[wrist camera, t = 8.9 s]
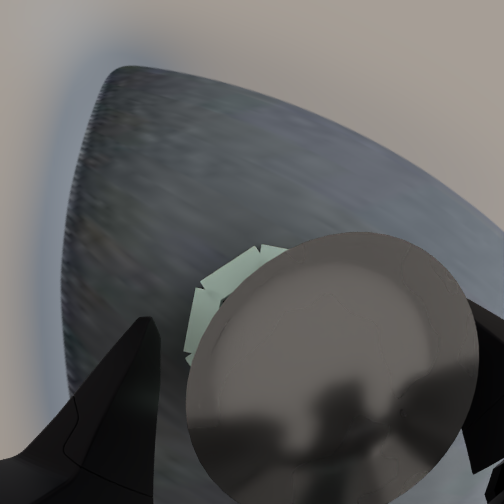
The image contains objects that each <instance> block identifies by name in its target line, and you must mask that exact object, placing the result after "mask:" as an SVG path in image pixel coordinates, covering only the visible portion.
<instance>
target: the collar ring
mask: <svg viewBox="0 0 504 504" xmlns="http://www.w3.org/2000/svg"><path fill="white" fill-rule="evenodd" d="M286 250H289V249H284V248H279V247H273V246H268V245H263V244H262V245H261V249H260V252H259V251H258V250H257V248H256V247H255V246H253V247H252V248H250V249H249V250H247V251H246V252H244V253H243V254H241V255H240V256H238V257H237V258H235V259H234V260H232V261H231V262H229V263H227V264H226V265H224V266H223V267H221V268H220V269H218V270H217V271H215V272H214V273H212V274H211V275H209V276H208V277H206V278H205V279H203V280H202V281H200V282H201V284H202V285H203V287H204V289H200V288H196V290H195V294H194V299H193V304H192V309H191V314H190V319H189V324H188V329H187V334H186V340H185V345H184V352H188V353H192V354H190V355H189V356H187V357H186V358H185V359H186V361H187V362H188V363H189V365H190V366H191V364H192V360H193V358H194V355H195V352H196V350H197V347H198V345H199V342H200V340H201V338H202V336H203V334H204V332H205V330H206V329H207V327H208V325H209V323H210V321H211V320H212V318H213V316H214V315H215V314H216V312H217V311H218V310H219V308H220V307H221V306H222V302H223V301H224V300H225V299H227V298H228V296H229V295H230V294H231V293H232V292H233V291H234V290H235V289H236V288H237V287H238V286H239V285H240V284H241V283H242V282H243V281H244V280H245V279H246V278H247V277H249V276H250V275H251V274H252V273H254V272H255V271H256V270H257V269H259V268H260V267H261V266H262V265H264V264H265V263H266V262H268V261H270V260H271V259H273V258H275V257H276V256H278V255H280V254H281V253H283V252H284V251H286Z"/></svg>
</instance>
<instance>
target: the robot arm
mask: <svg viewBox="0 0 504 504" xmlns="http://www.w3.org/2000/svg"><path fill="white" fill-rule="evenodd" d="M466 299H467V298H466ZM467 301H468V303H469V306H470V308H471V311H472V314H473V317H474V321H475V325H476V330H477V336H478V344H479V367H478V377H477V383H476V388H475V393H474V396H473V400H472V403H471V406H470V409H469V412H468V414H467V417H466V419H465V421H464V424H463V426H462V428H461V429H462V433H463V436H464V440H465V444H466V448H467V452H468V456H469V460H470V465H471V469H472V473H473V474H476V473H478V472H480V471H481V470H483V469H485V468H487V467H489V466H491V465H492V464H494V463H496V462H498V461H499V460H501V459H503V458H504V320H503V319H501V318H500V317H498V316H496V315H495V314H493V313H491V312H490V311H488V310H486V309H485V308H483V307H481V306H479V305H478V304H476V303H474V302H473V301H471V300H469V299H467ZM160 351H161V338H160V334H159V332H158V329H157V327H156V324H155V322H154V320H153V318H152V317H139V318H138V319H137V320H136V321H135V322H134V323H133V324H132V326H131V327H130V328H129V329H128V330H127V331H126V332H125V334H124V335H123V336H122V337H121V338H120V339H119V341H118V342H117V343H116V344H115V345H114V346H113V348H112V349H111V350H110V351H109V352H108V353H107V355H106V356H105V357H104V358H103V359H102V361H101V362H100V363H99V364H98V365H97V367H96V368H95V369H94V370H93V371H92V373H91V374H90V375H89V376H88V377H87V379H86V380H85V381H84V382H83V384H82V385H81V386H80V387H79V388H78V390H77V391H76V392H75V393H74V396H72V397H71V398H70V400H69V401H68V402H67V403H66V405H65V406H64V407H63V408H62V410H61V411H60V412H59V413H58V414H57V415H56V417H55V418H54V419H53V420H52V421H51V422H50V423H49V424H48V425H47V426H46V427H45V429H44V430H43V431H42V432H41V433H40V434H39V435H38V436H37V437H36V438H35V439H34V440H33V441H32V442H31V443H30V444H29V445H28V447H27V448H26V449H25V450H23V451H22V452H21V453H20V454H18V455H16V456H14V457H11V458H8V459H3V460H0V504H153V476H154V453H155V437H156V423H157V412H158V401H159V392H160ZM485 497H486V501H487V504H504V460H503V461H502V462H501V463H500V464H498V465H497V466H496V467H495V468H494V469H493V471H492V474H491V477H490V481H489V483H488V486H487V489H486V492H485Z"/></svg>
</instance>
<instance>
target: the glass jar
mask: <svg viewBox="0 0 504 504" xmlns="http://www.w3.org/2000/svg"><path fill="white" fill-rule="evenodd" d="M478 367H479V344H478V336H477V330H476V325H475V321H474V317H473V314H472V311H471V308H470V306H469V303H468V301H467V299H466V296H465V295H464V293H463V291H462V289H461V288H460V286H459V284H458V283H457V281H456V280H455V279H454V277H453V276H452V275H451V274H450V272H449V271H448V270H447V269H446V268H445V267H444V266H443V265H442V264H441V263H440V262H439V261H438V260H437V259H436V258H434V257H433V256H431V255H430V254H429V253H427V252H426V251H424V250H423V249H421V248H419V247H417V246H415V245H413V244H411V243H409V242H407V241H405V240H402V239H399V238H396V237H392V236H389V235H384V234H377V233H371V232H347V233H340V234H333V235H327V236H324V237H320V238H317V239H314V240H310V241H307V242H304V243H302V244H300V245H298V246H295V247H293V248H291V249H289V250H286V251H284V252H283V253H281V254H280V255H278V256H276V257H275V258H273V259H271V260H270V261H268V262H266V263H265V264H264V265H262V266H261V267H260V268H259V269H257V270H256V271H255V272H254V273H252V274H251V275H250V276H249V277H247V278H246V279H245V280H244V281H243V282H242V283H241V284H240V285H239V286H238V287H237V288H236V289H235V290H234V291H233V292H232V293H231V294H230V295H229V296H228V298H227V299H226V300H225V302H224V303H223V304H222V306H221V307H220V308H219V310H218V311H217V312H216V314H215V315H214V316H213V318H212V320H211V321H210V323H209V325H208V327H207V329H206V330H205V332H204V334H203V336H202V338H201V340H200V342H199V345H198V347H197V350H196V352H195V355H194V358H193V360H192V364H191V368H190V373H189V377H188V382H187V392H186V416H187V426H188V430H189V434H190V438H191V442H192V445H193V447H194V450H195V452H196V454H197V456H198V459H199V461H200V463H201V464H202V466H203V467H204V469H205V470H206V472H207V473H208V475H209V476H210V478H211V479H212V480H213V481H214V482H215V483H216V484H217V485H218V486H219V487H220V488H221V489H222V491H224V492H225V493H226V494H227V495H229V496H230V497H231V498H233V499H234V500H235V501H236V502H238V503H240V504H387V503H389V502H391V501H392V500H394V499H396V498H397V497H399V496H400V495H402V494H404V493H405V492H407V491H408V490H409V489H410V488H412V487H413V486H414V485H416V484H417V483H418V482H419V481H420V480H422V479H423V478H424V477H425V476H426V475H427V474H428V473H429V472H430V471H431V470H432V469H433V468H434V467H435V466H436V464H437V463H438V462H439V461H440V460H441V458H442V457H443V456H444V455H445V453H446V452H447V451H448V449H449V448H450V446H451V445H452V443H453V442H454V440H455V438H456V437H457V435H458V433H459V431H460V429H461V428H462V426H463V424H464V421H465V419H466V417H467V414H468V412H469V409H470V406H471V403H472V400H473V396H474V393H475V388H476V383H477V377H478Z"/></svg>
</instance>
